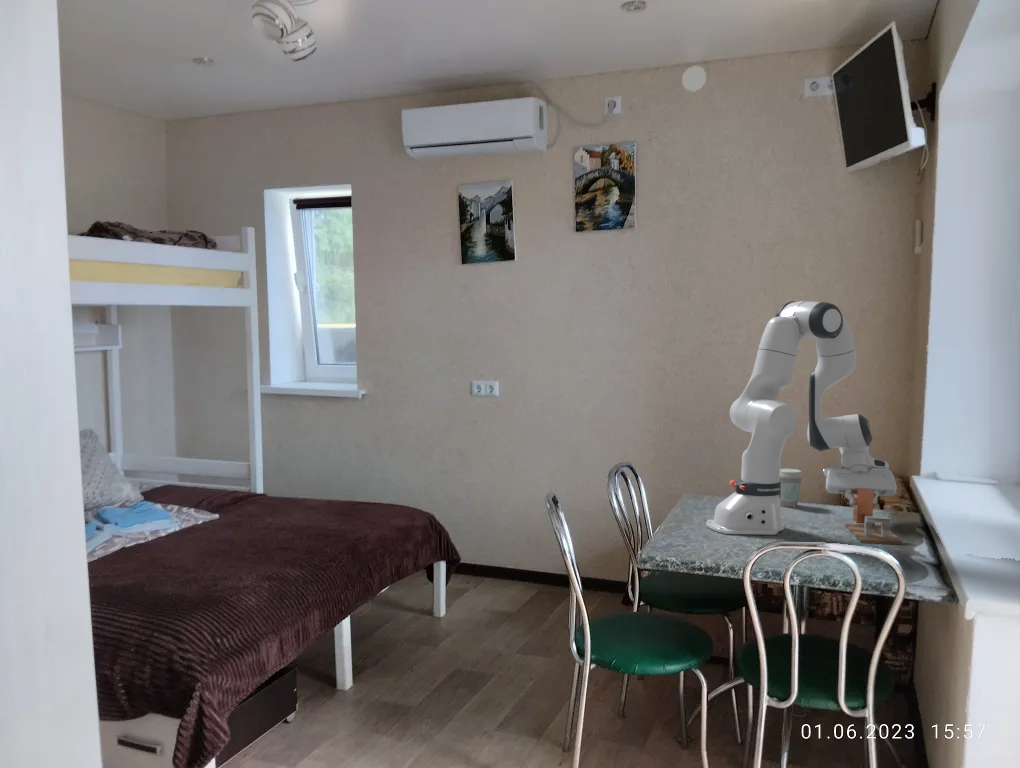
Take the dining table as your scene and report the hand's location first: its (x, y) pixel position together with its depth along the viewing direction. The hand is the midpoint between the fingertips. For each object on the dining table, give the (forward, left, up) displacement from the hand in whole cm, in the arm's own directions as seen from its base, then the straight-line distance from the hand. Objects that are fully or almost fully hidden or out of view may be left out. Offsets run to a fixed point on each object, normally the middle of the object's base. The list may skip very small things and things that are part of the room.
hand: (863, 504), depth 249 cm
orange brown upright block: (-1, -3, -5) cm, 6 cm away
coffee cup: (-8, +29, -7) cm, 31 cm away
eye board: (-4, -10, -7) cm, 13 cm away
